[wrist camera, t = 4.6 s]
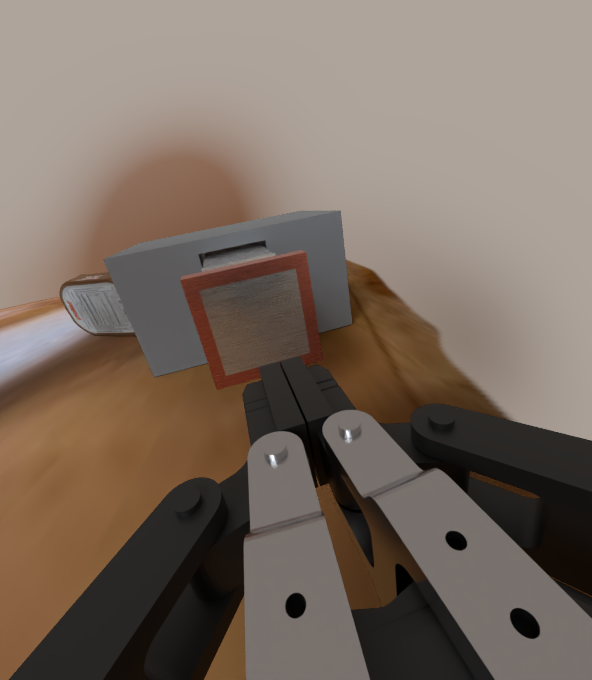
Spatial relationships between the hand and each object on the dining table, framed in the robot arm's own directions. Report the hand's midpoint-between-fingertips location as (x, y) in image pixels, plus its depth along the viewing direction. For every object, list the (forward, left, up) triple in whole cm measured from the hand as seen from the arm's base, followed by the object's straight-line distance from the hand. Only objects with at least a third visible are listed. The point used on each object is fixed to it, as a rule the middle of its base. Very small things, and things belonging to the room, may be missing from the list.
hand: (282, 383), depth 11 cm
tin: (-33, +22, -7) cm, 40 cm away
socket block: (-13, +22, -7) cm, 26 cm away
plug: (-7, +12, -3) cm, 15 cm away
